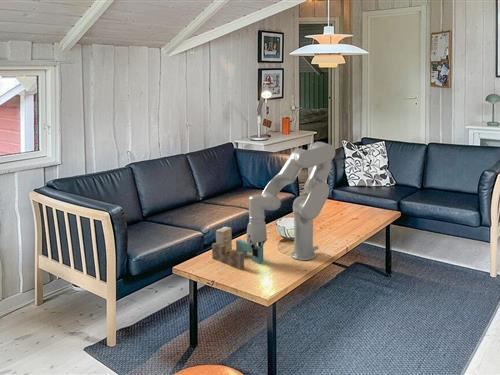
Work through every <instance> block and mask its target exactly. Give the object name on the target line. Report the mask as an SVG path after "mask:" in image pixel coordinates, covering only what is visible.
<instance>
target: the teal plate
mask: <svg viewBox="0 0 500 375" xmlns="http://www.w3.org/2000/svg"><path fill="white" fill-rule="evenodd" d="M247 243H248V242H247V240H243V239H236V241H235V247H236V248H235V250H237V251H240V252H242V253H244V259H245V258H247V257H248V253H249V254H251V261H252V262H254V263H257V264H259V265H261V264H264V246H263V247H260V246H258V245H257V250H258V256H257V257H256V256H253V252H252V248H251V247H250V246H248V245H247Z"/></svg>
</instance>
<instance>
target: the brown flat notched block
mask: <svg viewBox="0 0 500 375" xmlns="http://www.w3.org/2000/svg"><path fill="white" fill-rule="evenodd" d="M211 250H212V251H211V254H212V255H211V256H212V259H213V260H216V261H218V262H220V263H223V264H225V265H228V266H230V267H232V268H235V269H237V270H240V271H241V270H244V269H245V258H244V253H242V252H240V251H237V250H236V249H234V248H232V250H230V252H229V254H228V253H226V254H225V246H224V245H221V244H218V243H216V242H214V243H212V244H211Z"/></svg>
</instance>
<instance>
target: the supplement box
mask: <svg viewBox="0 0 500 375" xmlns="http://www.w3.org/2000/svg"><path fill="white" fill-rule="evenodd" d="M232 234H233V233H232V227H229V226H223V227H222V228H219V229H216V230H215V241H216V242H215V243H218V244H221V245H224V246H225V254H228V253H230V250H233V244H232V241H233V240H232V238H233V236H232Z"/></svg>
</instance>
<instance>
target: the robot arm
mask: <svg viewBox="0 0 500 375" xmlns="http://www.w3.org/2000/svg"><path fill="white" fill-rule="evenodd" d="M335 156H336V149H335V147H334V146H333V145H332V144H329V143H326V142H323V141H315V142H313V144H312V145H311V148H310V149H305V148H304V149H303V148H295V149H294V150H292V152H291V153H290V155H289V156H288V158H287V159H286V161H285V163H284V165H283V166H282V168H281V169H280V171H279V172H278V173H277V174H275V176H273V178H272V179H271V180H270V181H269V182H267V185H266V186H265V188H264V190H262V193H261V194H253V195H250V196H249V197H248V216H249V218H248V219H249V220H248V221H249V222H248V223H247V227H246V228H247V229H246V242H248V243H247V245H248V246H250V247H251V248H252V252H253V256H256V257H257V256H258V250H257V246H260V247H263V248H264V245H265V243H266V242H267V241H268V238H267V236H268V233H267V225H266V222H265V219H266V216H265V211H276V210H278V209H279V208H280V207H281V205H282V202H281V201H282V200H281V199H280V197H279V196H278V194H279V193H280V191H281V190H282V189H283V188H284V187H286V186H287V185H290V184H293V183H294V182H295V181H296V179H297V178H298V176H299V174H300V173H301V171H302V170H303V168H304V169H307V168H312V169H311V171H310V174H309V176H308V177H307V179H306V182H305V183H304V186H303V190H304V191H305V193H306V194H307V195H308V196H305V195H300V196H297V197H296V198H295V199H294V200H293V203H292V214H293V226H294V227H293V230H294V231H293V234H294V236H293V243H294V244H293V249H294V250H293V251H292V252H291V255H290V256H291V258H292V259H294V260H297V261H310V260H313V259H315V258H316V256H317V254H316V253H315V251H316V250H319V246H318V245H314V219H316V218H317V217H318V216H319V215H320V213H321V211H322V209H323V208H324V206H325V203H326V201H327V199H328V197H329V195H330V187H329V184H328V183H327V179H328V177H329V175H330V173H331V168H332V161H333V160H334V158H335Z"/></svg>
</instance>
